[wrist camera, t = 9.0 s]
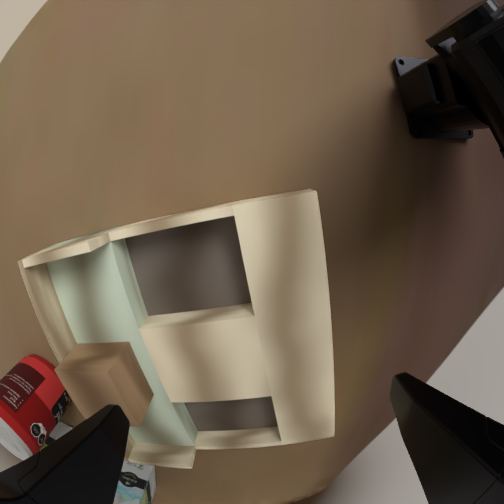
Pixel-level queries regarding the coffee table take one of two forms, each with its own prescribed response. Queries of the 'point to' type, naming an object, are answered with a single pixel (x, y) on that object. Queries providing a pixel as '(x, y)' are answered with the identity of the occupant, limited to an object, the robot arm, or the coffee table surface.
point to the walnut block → (106, 379)
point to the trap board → (204, 321)
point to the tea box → (122, 475)
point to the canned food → (30, 405)
